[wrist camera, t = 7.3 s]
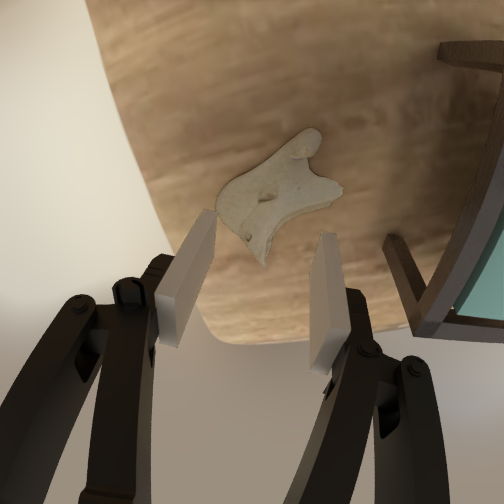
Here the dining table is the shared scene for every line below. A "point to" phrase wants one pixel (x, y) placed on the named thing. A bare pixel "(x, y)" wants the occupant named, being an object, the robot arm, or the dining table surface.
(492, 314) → the trapdoor
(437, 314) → the frame
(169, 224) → the dining table surface
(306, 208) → the fossil
